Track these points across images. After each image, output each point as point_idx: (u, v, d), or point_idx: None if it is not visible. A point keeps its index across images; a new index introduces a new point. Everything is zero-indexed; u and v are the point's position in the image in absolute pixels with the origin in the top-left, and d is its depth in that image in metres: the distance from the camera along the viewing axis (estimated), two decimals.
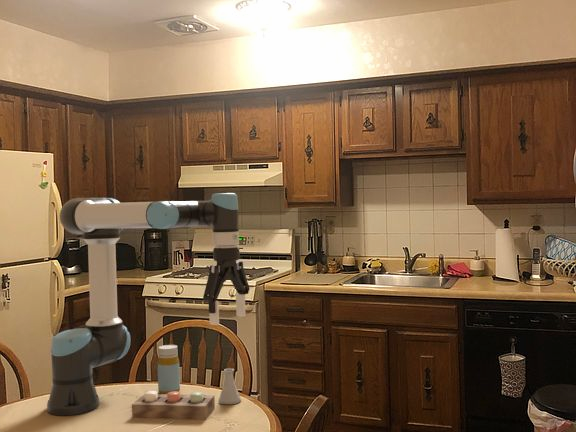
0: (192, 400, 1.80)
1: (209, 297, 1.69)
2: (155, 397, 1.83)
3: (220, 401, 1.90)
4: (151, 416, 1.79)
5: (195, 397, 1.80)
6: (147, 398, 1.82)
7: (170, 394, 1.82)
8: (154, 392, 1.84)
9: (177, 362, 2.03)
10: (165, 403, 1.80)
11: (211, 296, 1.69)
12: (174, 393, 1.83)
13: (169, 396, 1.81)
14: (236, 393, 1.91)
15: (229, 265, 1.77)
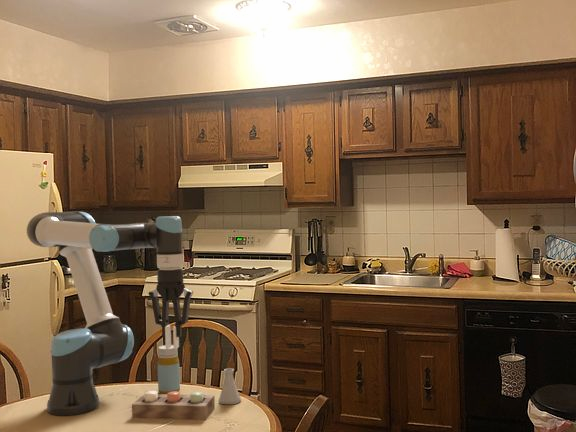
0: (192, 400, 1.80)
1: None
2: (155, 397, 1.83)
3: (220, 401, 1.90)
4: (151, 416, 1.79)
5: (195, 397, 1.80)
6: (147, 398, 1.82)
7: (170, 394, 1.82)
8: (154, 392, 1.84)
9: (177, 362, 2.03)
10: (165, 403, 1.80)
11: (156, 321, 1.82)
12: (174, 393, 1.83)
13: (169, 396, 1.81)
14: (236, 393, 1.91)
15: (168, 287, 1.81)
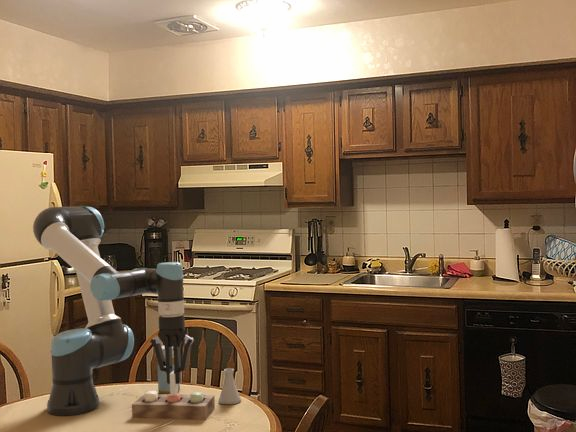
0: (192, 400, 1.80)
1: None
2: (155, 397, 1.83)
3: (220, 401, 1.90)
4: (151, 416, 1.79)
5: (195, 397, 1.80)
6: (147, 398, 1.82)
7: (170, 396, 1.82)
8: (154, 392, 1.84)
9: None
10: (165, 403, 1.80)
11: (161, 367, 1.82)
12: None
13: (169, 398, 1.81)
14: (236, 393, 1.91)
15: (170, 333, 1.81)
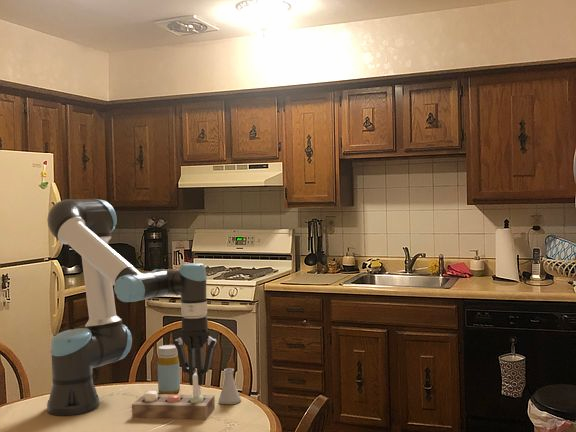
0: None
1: None
2: (155, 397, 1.83)
3: (220, 401, 1.90)
4: (151, 416, 1.79)
5: (195, 400, 1.80)
6: (147, 398, 1.82)
7: (170, 397, 1.82)
8: (154, 392, 1.84)
9: (177, 362, 2.03)
10: (165, 403, 1.80)
11: (183, 369, 1.81)
12: (174, 396, 1.83)
13: (169, 399, 1.81)
14: (236, 393, 1.91)
15: (193, 335, 1.80)
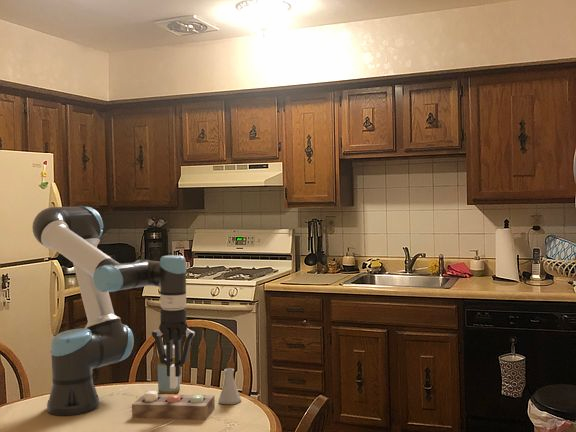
0: None
1: None
2: (155, 397, 1.83)
3: (220, 401, 1.90)
4: (151, 416, 1.79)
5: (195, 400, 1.80)
6: (147, 398, 1.82)
7: (170, 397, 1.82)
8: (154, 392, 1.84)
9: None
10: (165, 403, 1.80)
11: (161, 360, 1.82)
12: (174, 396, 1.83)
13: (169, 399, 1.81)
14: (236, 393, 1.91)
15: (171, 326, 1.82)
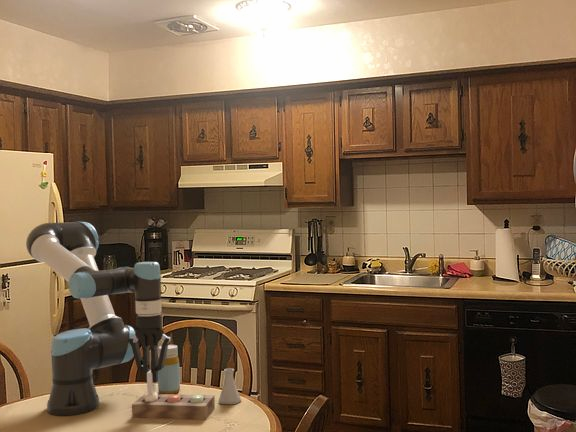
0: None
1: None
2: (155, 398, 1.83)
3: (220, 401, 1.90)
4: (151, 416, 1.79)
5: (195, 400, 1.80)
6: (147, 399, 1.82)
7: (170, 397, 1.82)
8: (154, 393, 1.84)
9: (177, 362, 2.03)
10: (165, 403, 1.80)
11: (138, 366, 1.83)
12: (174, 396, 1.83)
13: (169, 399, 1.81)
14: (236, 393, 1.91)
15: (147, 332, 1.82)
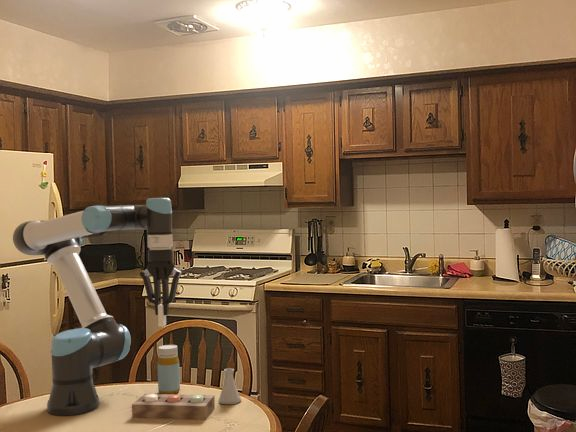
0: None
1: None
2: (155, 400, 1.83)
3: (220, 401, 1.90)
4: (151, 416, 1.79)
5: (195, 400, 1.80)
6: (147, 401, 1.82)
7: (170, 397, 1.82)
8: (154, 395, 1.84)
9: (177, 362, 2.03)
10: (165, 403, 1.80)
11: (149, 299, 1.87)
12: (174, 396, 1.83)
13: (169, 399, 1.81)
14: (236, 393, 1.91)
15: (158, 266, 1.87)
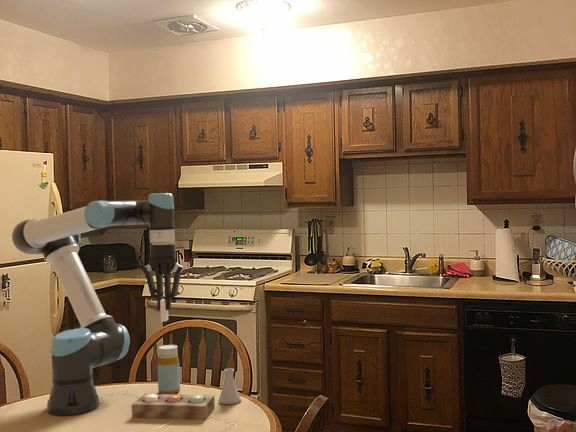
0: None
1: None
2: (155, 400, 1.83)
3: (220, 401, 1.90)
4: (151, 416, 1.79)
5: (195, 400, 1.80)
6: (147, 401, 1.82)
7: (170, 397, 1.82)
8: (154, 395, 1.84)
9: (177, 362, 2.03)
10: (165, 403, 1.80)
11: (151, 294, 1.88)
12: (174, 396, 1.83)
13: (169, 399, 1.81)
14: (236, 393, 1.91)
15: (161, 261, 1.87)
